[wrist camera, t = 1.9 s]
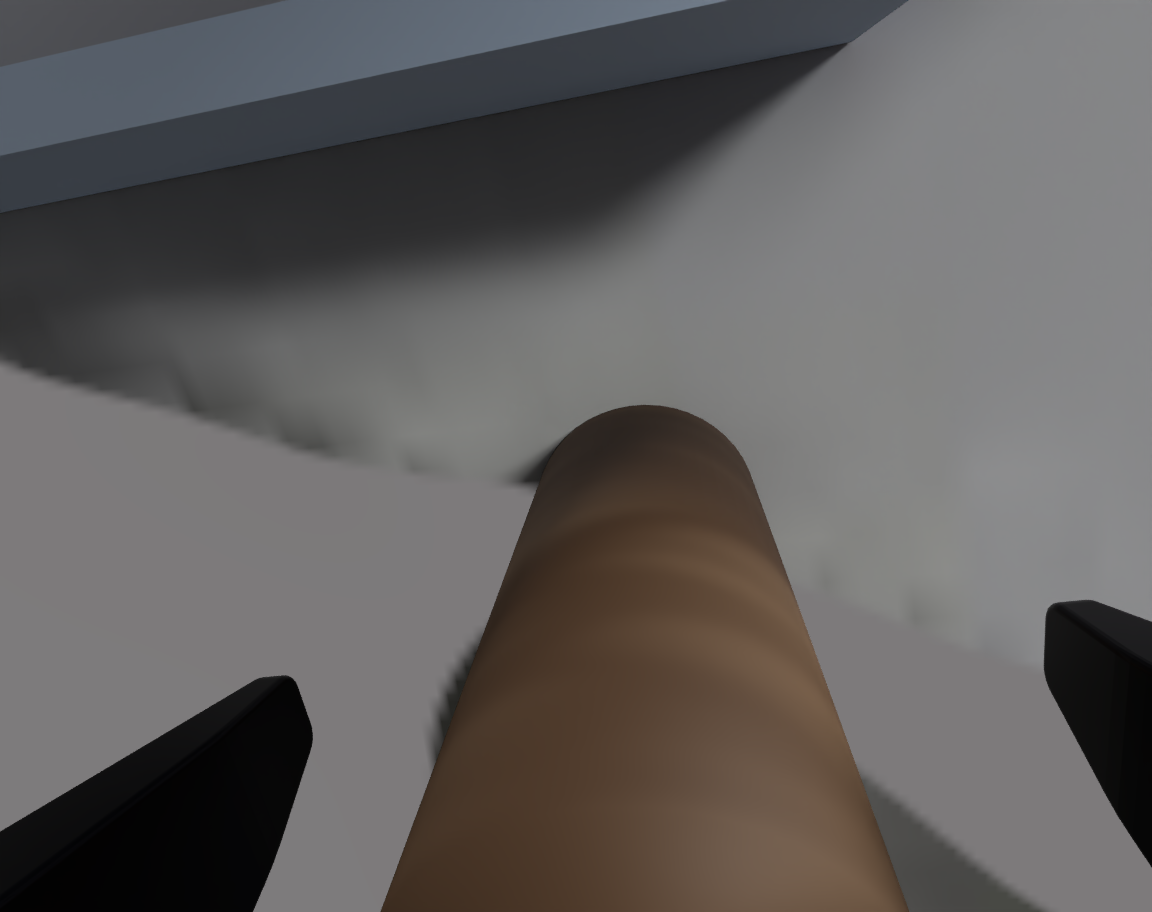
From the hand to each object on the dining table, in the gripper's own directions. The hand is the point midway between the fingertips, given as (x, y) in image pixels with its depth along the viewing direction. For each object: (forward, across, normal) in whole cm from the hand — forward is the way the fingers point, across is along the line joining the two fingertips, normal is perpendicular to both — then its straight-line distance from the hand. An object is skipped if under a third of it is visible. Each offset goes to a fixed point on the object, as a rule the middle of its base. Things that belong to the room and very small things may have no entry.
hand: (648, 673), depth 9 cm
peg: (+5, 0, 0) cm, 5 cm away
